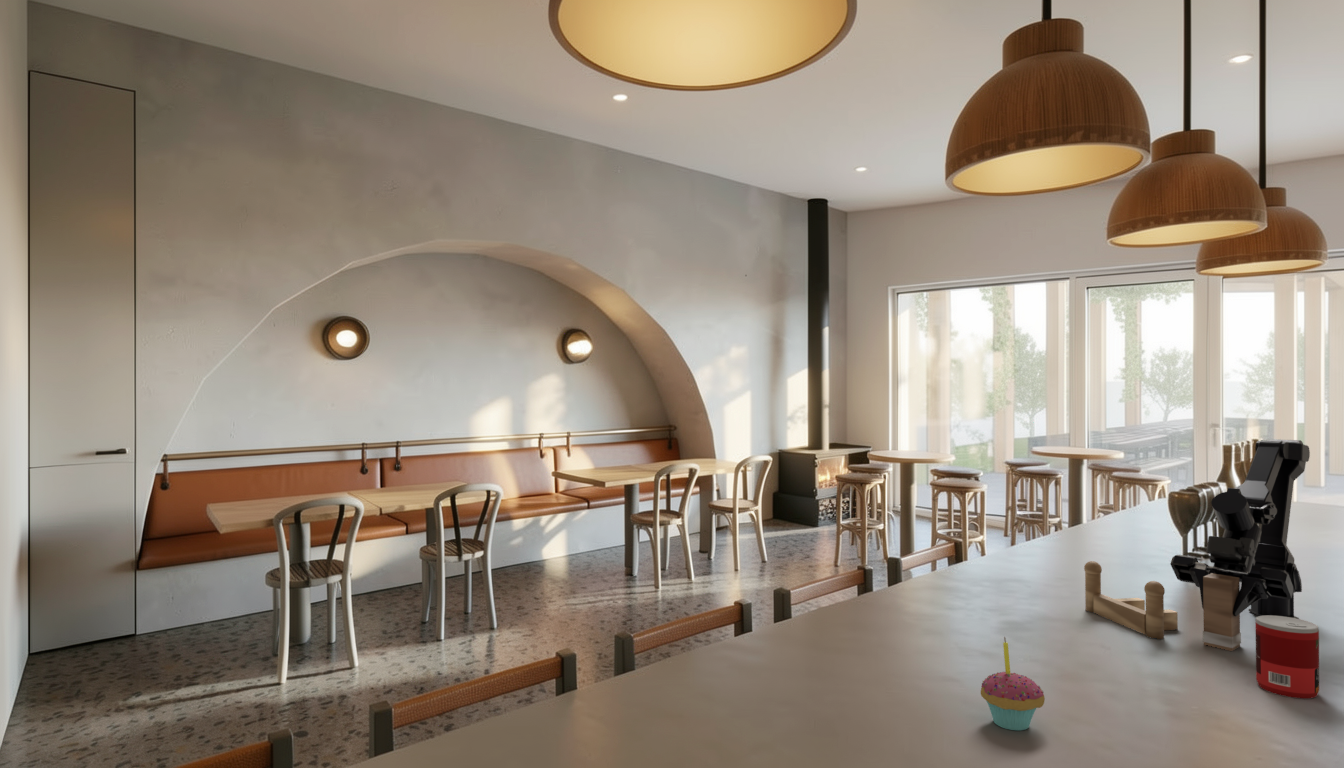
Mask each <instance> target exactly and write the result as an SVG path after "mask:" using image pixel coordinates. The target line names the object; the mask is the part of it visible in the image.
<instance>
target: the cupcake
mask: <svg viewBox="0 0 1344 768" xmlns="http://www.w3.org/2000/svg"><path fill="white" fill-rule="evenodd" d="M1003 641H1004V642H1002V644H1003V645H1002V647H1003V657H1004V669H1005V671H1002V672H996V673H992V674H990V675H987V677H986V678H984V679H983V680H982V683H981V688H980V695H981V697H982V699H984V700H985V701H986V703H987V705H988V707H989V711H990V714H991V717H992V721H993V723H994V724H995V725H996V726H998V727H1001V728H1002V729H1006V730H1010V731H1019V732H1020V731H1025V730H1027V729H1029V727H1030V725H1031V722H1032V719H1033V717H1034V714H1035V712H1036V710H1037V709H1040V708H1042V707H1043V706H1044V704H1045V699H1046V698H1045V694H1044V690H1042V688H1041V686H1040V685H1038V684H1037V683H1036V682H1035V681H1034V680H1033V679H1031V678H1029V677H1027V676H1026V675H1025V676H1024V675H1022V674H1018V673H1017V672H1011V664H1010V654H1009V653H1010V652H1009V643H1008V642H1007V638H1006V636H1004V637H1003Z"/></svg>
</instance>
